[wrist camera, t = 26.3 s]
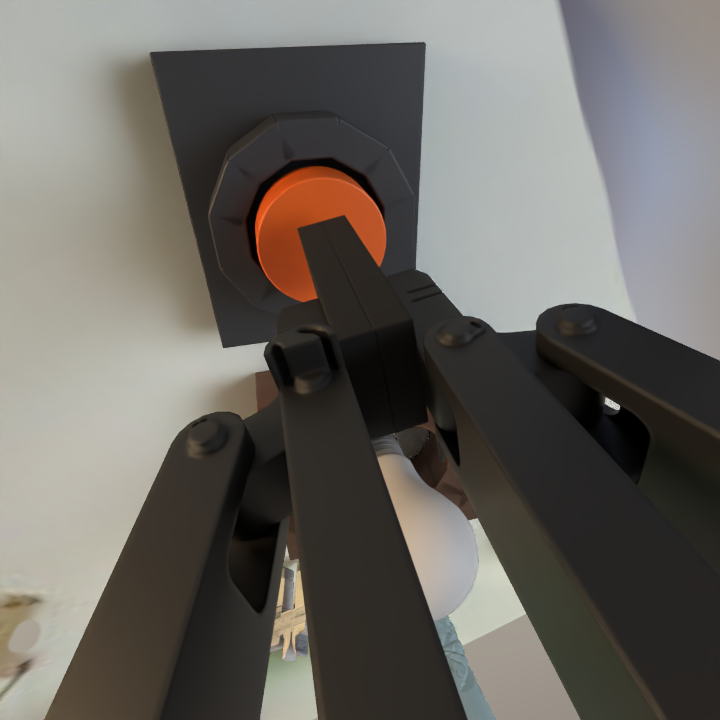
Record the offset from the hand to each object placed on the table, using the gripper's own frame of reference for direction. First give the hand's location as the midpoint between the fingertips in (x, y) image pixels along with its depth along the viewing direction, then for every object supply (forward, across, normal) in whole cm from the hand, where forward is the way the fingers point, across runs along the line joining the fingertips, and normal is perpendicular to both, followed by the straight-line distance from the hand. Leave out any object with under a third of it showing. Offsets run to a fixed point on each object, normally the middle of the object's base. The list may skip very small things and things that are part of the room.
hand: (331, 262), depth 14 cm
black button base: (+7, 0, 0) cm, 7 cm away
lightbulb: (+7, 0, -15) cm, 17 cm away
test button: (+3, 0, 0) cm, 3 cm away
